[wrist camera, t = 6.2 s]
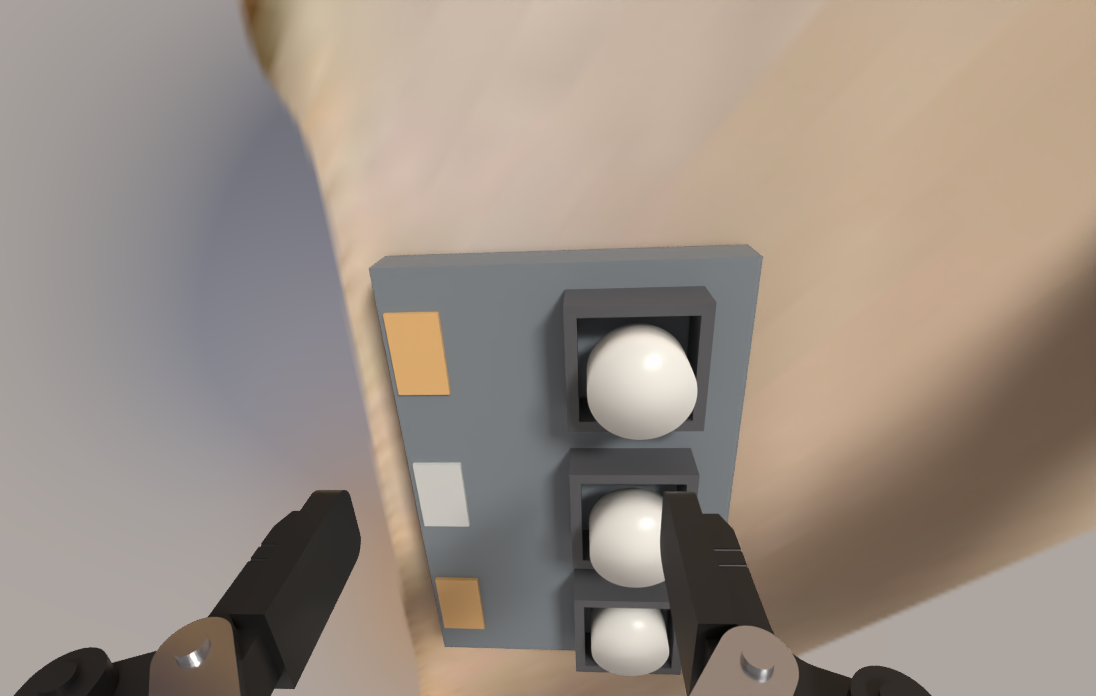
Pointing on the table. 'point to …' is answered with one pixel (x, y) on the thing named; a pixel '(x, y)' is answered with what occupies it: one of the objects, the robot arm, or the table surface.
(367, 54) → the table surface
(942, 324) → the table surface
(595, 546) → the button
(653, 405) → the button
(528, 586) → the switch panel
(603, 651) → the button
